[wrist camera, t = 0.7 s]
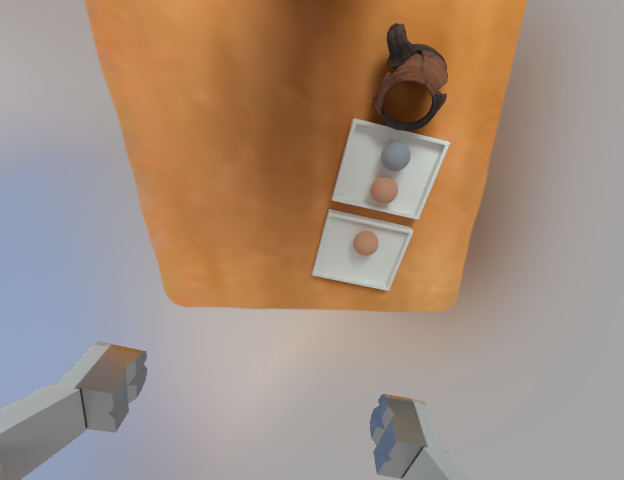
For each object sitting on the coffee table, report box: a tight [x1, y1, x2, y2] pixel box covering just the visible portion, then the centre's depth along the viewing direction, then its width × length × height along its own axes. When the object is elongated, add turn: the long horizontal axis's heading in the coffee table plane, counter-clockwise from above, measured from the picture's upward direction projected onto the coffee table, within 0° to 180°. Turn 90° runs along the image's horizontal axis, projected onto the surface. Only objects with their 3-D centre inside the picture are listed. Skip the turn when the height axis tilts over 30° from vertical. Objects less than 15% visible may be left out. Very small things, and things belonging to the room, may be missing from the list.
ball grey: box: [381, 142, 410, 171], centre depth 42 cm, size 4×4×4 cm
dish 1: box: [332, 118, 450, 220], centre depth 44 cm, size 12×14×2 cm
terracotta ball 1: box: [353, 231, 379, 256], centre depth 48 cm, size 4×4×4 cm
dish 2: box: [312, 209, 413, 291], centre depth 51 cm, size 12×14×2 cm
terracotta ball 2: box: [370, 177, 398, 204], centre depth 44 cm, size 4×4×4 cm
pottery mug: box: [373, 23, 448, 131], centre depth 38 cm, size 12×10×8 cm
